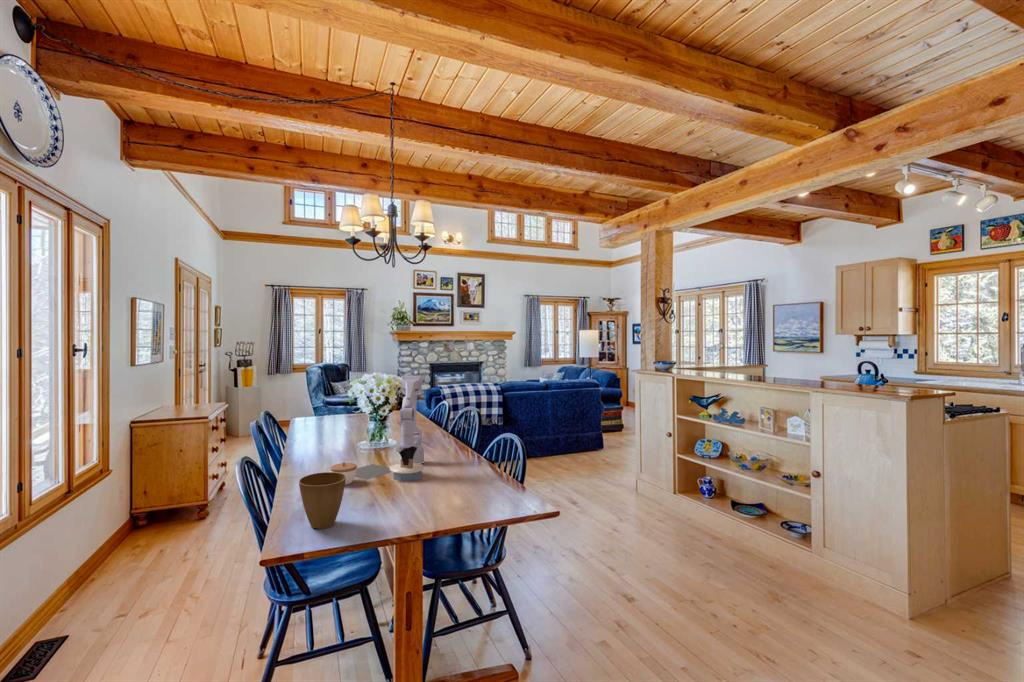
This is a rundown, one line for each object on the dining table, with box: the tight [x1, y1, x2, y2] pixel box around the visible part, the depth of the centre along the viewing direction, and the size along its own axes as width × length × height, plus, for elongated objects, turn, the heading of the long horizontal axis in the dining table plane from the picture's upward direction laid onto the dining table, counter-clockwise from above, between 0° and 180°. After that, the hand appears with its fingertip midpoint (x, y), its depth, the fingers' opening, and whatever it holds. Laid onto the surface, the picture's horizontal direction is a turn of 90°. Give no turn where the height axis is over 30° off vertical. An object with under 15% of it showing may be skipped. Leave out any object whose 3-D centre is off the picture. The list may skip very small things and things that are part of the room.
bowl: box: [393, 470, 423, 483], centre depth 218 cm, size 12×12×4 cm
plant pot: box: [298, 471, 346, 529], centre depth 164 cm, size 15×15×16 cm
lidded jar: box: [330, 461, 358, 486], centre depth 208 cm, size 11×11×9 cm
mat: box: [355, 463, 392, 480], centre depth 226 cm, size 18×18×1 cm
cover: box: [389, 458, 425, 474], centre depth 218 cm, size 15×15×4 cm
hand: (407, 464), depth 218 cm, fingers closed on cover, 2 cm apart
